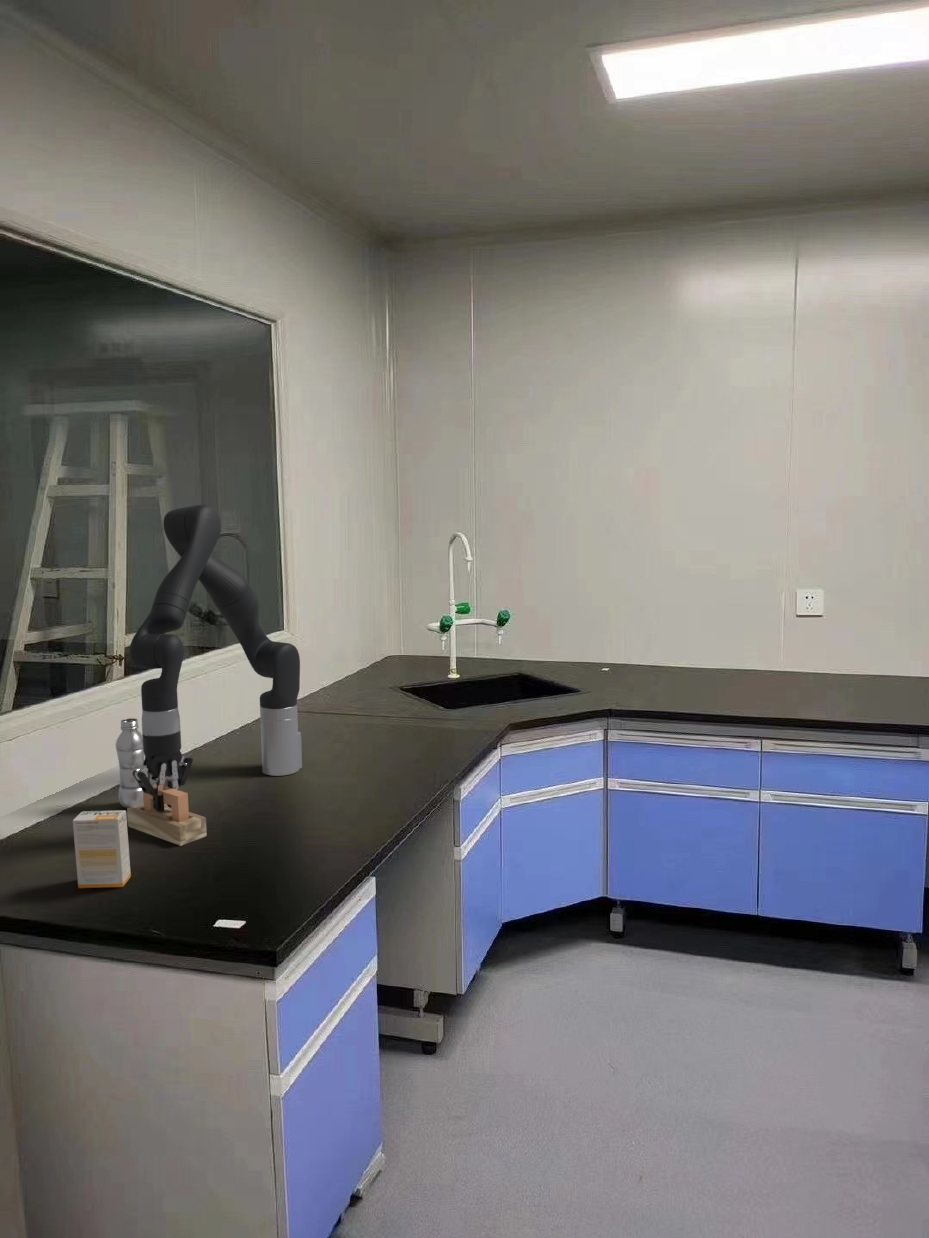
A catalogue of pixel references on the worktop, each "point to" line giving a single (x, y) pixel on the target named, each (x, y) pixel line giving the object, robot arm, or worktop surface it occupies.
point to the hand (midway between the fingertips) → (165, 808)
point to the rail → (167, 825)
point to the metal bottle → (130, 762)
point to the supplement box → (101, 849)
